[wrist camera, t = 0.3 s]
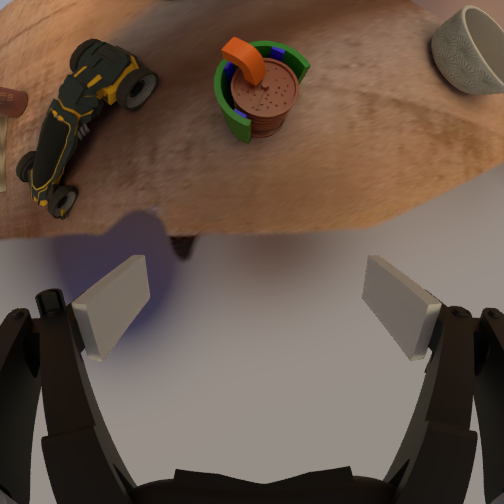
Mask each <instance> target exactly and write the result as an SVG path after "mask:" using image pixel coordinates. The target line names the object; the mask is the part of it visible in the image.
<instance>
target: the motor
mask: <svg viewBox="0 0 504 504" xmlns="http://www.w3.org/2000/svg"><path fill="white" fill-rule="evenodd" d="M221 51H222V55H223V59H222V61H221V62H220V64H219V65H218V67H217V70H216V73H215V77H214V91H215V95H216V98H217V100H218V103H219V105H220V107H221V109H222V112H223V114H224V116H225V118H226V121H227V123H228V125H229V127H230V129H231V131H232V132H233V134H234V135H235V136H236V137H237V138H239V139H240V140H242V141H243V142H245V143H248V144H249V142H250V140H251V136H252V137H256V138H265V137H269V136H271V135H273V134H275V133H276V132H277V131H279V129H280V128H281V127H282V125H283V124H284V122H285V120H286V117H287V114H288V112H289V111H290V109H291V108H292V106H293V104H294V103H295V101H296V99H297V97H298V94H299V84H300V83H301V81H302V79H303V78H304V76H305V74H306V73H307V71H308V69H309V68H310V66H311V65H310V64H309V62H308V61H307V60H306V59H305V58H304V57H303V56H302V55H301V54H300V53H299V52H297V51H296V50H294V49H293V48H291V47H289V46H287V45H284V44H281V43H277V42H272V41H255V42H250V43H246V42H245V41H242V40H240V39H238V38H236V37H233V38H232V39H231V40H230V41H229V42H228V43H227V44H226V45H225V46H224V47H223V48H222V49H221ZM233 105H234V111H233V110H232V106H233Z"/></svg>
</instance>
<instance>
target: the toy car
mask: <svg viewBox="0 0 504 504" xmlns="http://www.w3.org/2000/svg"><path fill="white" fill-rule="evenodd" d="M70 69H71V70H72V71H73V73H72V74H71V75H68V76H67V77H66V79H65V80H64V83H63V84H62V85H61V86H60V89H59V95H58V98H59V99H58V101H57V100H55V99H53V101H52V103H51V105H50V107H49V109H48V112H47V115H46V118H45V120H44V122H43V124H42V128H41V132H40V137H39V143H38V147H37V151H31V152H28V153H27V154H25V155H24V156H23V157H22V158H21V160H20V161H19V163H18V165H17V167H16V174H17V176H18V177H19V179H20V180H21V181H22V182H28V183H29V186H30V193H31V197H32V198H33V199H34V200H35V201H36V203H37V204H38V205H40V206H45V205H47V204H48V212H49V213H50V214H51V215H52V216H53V217H54V218H57V219H59V218H61V219H62V220H63V219H65V214H66V213H68V212H69V211H70V209H71V208H72V206H73V204H74V202H75V199H76V197H77V194H76V191H75V190H74V189H73V188H72V187H71V186H70V185H64V186H62V187H61V186H60V185H59V182H60V178H61V176H62V174H63V173H64V167H65V164H66V163H67V162H68V161H69V159H70V158H71V156H72V155H73V153H74V152H75V150H76V149H77V142H78V138H79V139H80V140H82V139H83V137H82V136H81V134H82V135H83V136H85V135H86V133H85V132H84V130H83V127H84V129H85V131H86V132H89V131H90V130H89V129H88V128H87V125H86V123H88V122H89V121H91V120H92V119H93V118H95V115H99V113H100V112H101V109H102V107H103V105H104V102H103V101H102V100H101V99H104V100H105V101H106V102H107V103H108V104H110V105H112V104H113V103H114V102H115V101H117V103H118V104H119V105H121V106H122V107H123V108H124V109H126V110H135V109H137V108H139V107H140V106H142V105H143V104H144V103H145V102H146V101H147V99H148V98H149V97H150V96H151V94H152V93H153V92H154V91H155V89H156V86H157V84H158V76H157V74H156V73H154V72H153V71H151V70H150V69H148V68H144V67H141V68H140V66H139V63H138V60H137V57H136V56H134V55H133V54H131V53H129V52H127V51H125V50H124V49H122V48H120V47H118V46H113V45H110V44H108V43H106V42H101V41H100V40H98V39H90V40H86V41H85V42H83V43H82V44H80V45H79V46H78V47H77V48H76V50H75V51H74V52H73V54H72V56H71V59H70ZM79 129H80V131H81V134H80V132H79ZM77 136H78V137H77Z"/></svg>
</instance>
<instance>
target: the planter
mask: <svg viewBox="0 0 504 504" xmlns="http://www.w3.org/2000/svg"><path fill="white" fill-rule="evenodd" d="M431 48H432V54H433V58H434V61H435V63H436V65H437V67H438V69H439V70H440V72H441V73H442V75H443V76H444V77H445V78H446V79H447V81H448V82H450V83H451V84H452V85H453V86H454V87H456V88H457V89H459V90H460V91H462V92H465V93H467V94H471V95H488V94H499V93H504V31H503V29H502V28H501V27H500V26H499V25H498V23H497V22H496V21H495V20H494V19H493V18H492V17H490V16H489V15H488V14H487V13H485V12H484V11H483V10H481V9H479V8H477V7H475V6H471V5H467V6H464V7H463V8H462V9H461V10H459V11H458V12H457V13H456V14H454V15H453V16H452V17H451V18H450V19H448V20H447V21H446V22H445V23H443V24H442V25H441V26H440V27H439V28H438V29H437V30H436V32H435V33H434V35H433V38H432V43H431Z"/></svg>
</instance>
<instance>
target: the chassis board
mask: <svg viewBox="0 0 504 504" xmlns="http://www.w3.org/2000/svg"><path fill="white" fill-rule="evenodd" d="M7 120H8V117H7V116H0V192H3V191H6V181H5V150H6V131H7Z"/></svg>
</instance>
